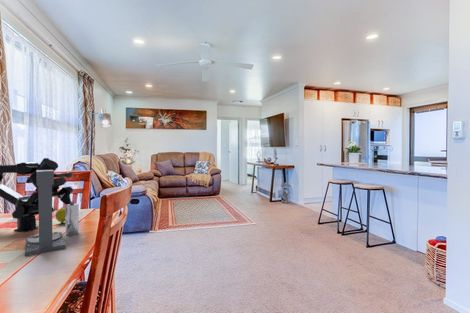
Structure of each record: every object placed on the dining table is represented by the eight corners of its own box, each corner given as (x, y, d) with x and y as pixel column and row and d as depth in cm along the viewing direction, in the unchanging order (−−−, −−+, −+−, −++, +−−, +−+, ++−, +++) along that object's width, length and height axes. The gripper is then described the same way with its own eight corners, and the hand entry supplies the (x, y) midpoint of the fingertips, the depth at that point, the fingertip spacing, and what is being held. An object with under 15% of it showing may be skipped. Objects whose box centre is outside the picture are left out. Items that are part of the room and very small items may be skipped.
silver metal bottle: (62, 235, 112) (62, 202, 111) (71, 231, 117) (71, 200, 116) (73, 236, 111) (72, 203, 111) (81, 232, 116) (81, 200, 116)
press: (26, 241, 105) (25, 168, 104) (68, 234, 114) (68, 166, 113) (24, 257, 90) (23, 172, 89) (73, 247, 99) (73, 170, 98)
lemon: (54, 225, 126) (54, 209, 126) (56, 222, 131) (56, 206, 131) (68, 223, 129) (68, 207, 129) (69, 220, 134) (69, 205, 134)
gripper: (32, 173, 106) (54, 201, 104) (69, 169, 125) (89, 193, 123) (17, 191, 108) (38, 219, 106) (56, 185, 126) (75, 208, 124)
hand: (62, 208), depth 115 cm, fingers open, 9 cm apart
